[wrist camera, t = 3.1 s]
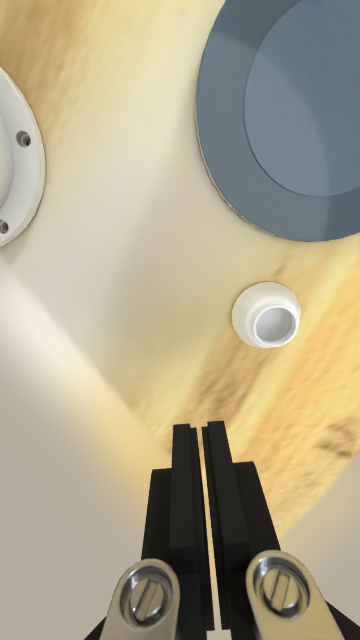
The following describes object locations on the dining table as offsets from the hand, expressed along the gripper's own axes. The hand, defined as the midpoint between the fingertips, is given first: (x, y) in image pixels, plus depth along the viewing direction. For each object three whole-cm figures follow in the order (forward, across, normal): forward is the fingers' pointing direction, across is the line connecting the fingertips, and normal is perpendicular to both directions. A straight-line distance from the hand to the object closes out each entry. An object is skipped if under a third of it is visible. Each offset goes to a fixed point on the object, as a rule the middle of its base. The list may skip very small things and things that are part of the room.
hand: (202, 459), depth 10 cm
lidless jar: (+14, -6, 0) cm, 15 cm away
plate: (+14, -10, -13) cm, 21 cm away
